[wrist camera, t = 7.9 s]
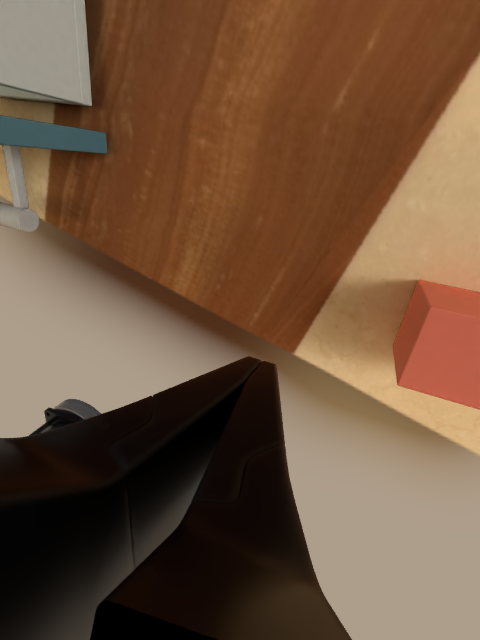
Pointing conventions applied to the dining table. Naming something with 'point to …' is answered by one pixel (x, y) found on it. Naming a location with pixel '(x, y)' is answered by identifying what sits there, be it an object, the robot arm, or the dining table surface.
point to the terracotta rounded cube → (440, 344)
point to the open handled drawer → (42, 87)
